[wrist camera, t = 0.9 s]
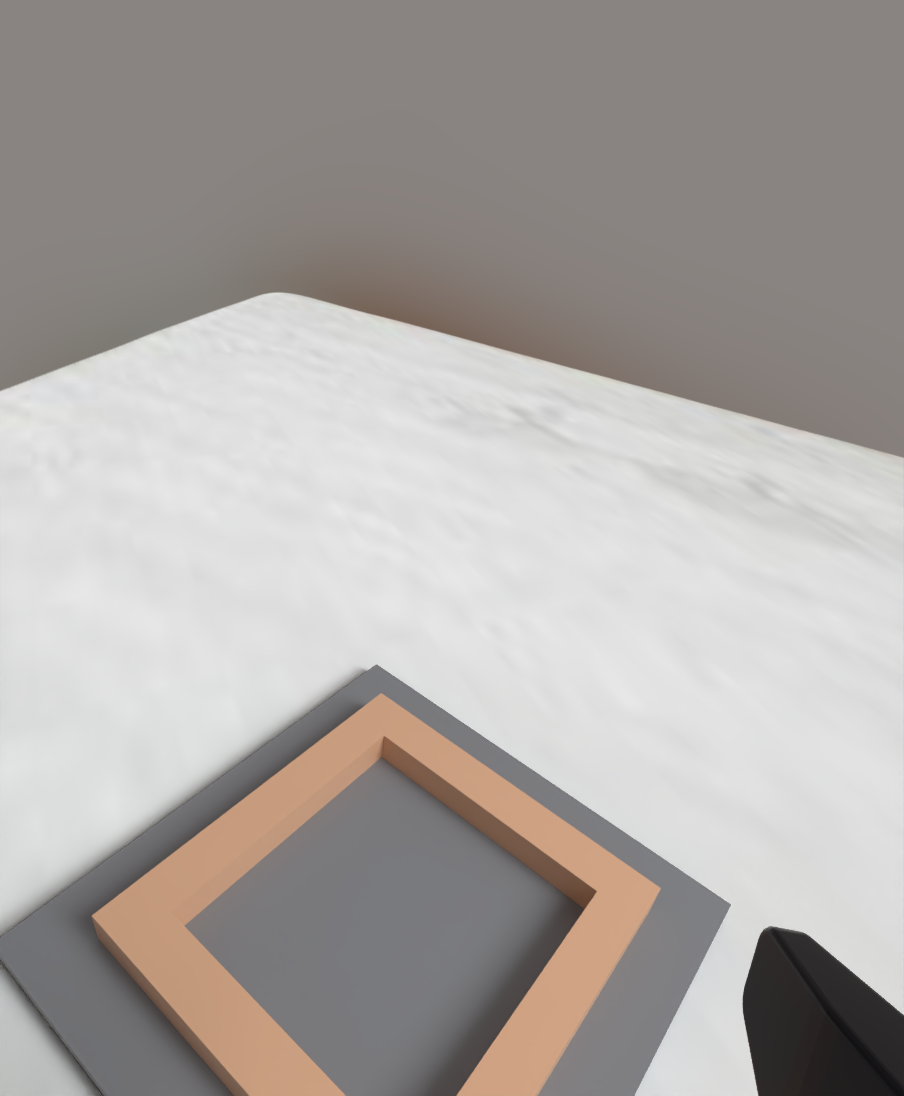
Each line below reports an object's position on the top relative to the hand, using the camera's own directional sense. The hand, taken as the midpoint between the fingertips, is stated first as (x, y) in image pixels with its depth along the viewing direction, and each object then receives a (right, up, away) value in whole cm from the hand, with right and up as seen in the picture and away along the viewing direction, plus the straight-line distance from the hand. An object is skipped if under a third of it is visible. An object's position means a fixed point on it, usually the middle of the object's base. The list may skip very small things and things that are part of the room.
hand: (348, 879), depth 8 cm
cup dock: (-1, -8, +15) cm, 18 cm away
